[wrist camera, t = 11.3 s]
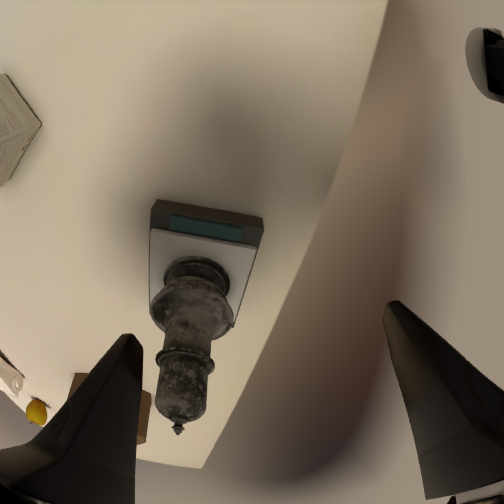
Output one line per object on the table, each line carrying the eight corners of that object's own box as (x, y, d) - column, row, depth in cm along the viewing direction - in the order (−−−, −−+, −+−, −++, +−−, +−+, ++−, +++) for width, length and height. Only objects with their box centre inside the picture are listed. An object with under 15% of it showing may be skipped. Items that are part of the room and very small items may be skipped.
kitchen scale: (156, 198, 19) (148, 212, 18) (262, 217, 21) (265, 232, 19) (152, 302, 25) (148, 318, 24) (233, 315, 27) (233, 332, 25)
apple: (28, 396, 48) (21, 419, 41) (33, 394, 46) (25, 419, 39) (46, 407, 51) (40, 430, 45) (53, 406, 49) (46, 431, 43)
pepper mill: (244, 299, 22) (249, 445, 13) (181, 314, 23) (162, 447, 14) (216, 242, 19) (202, 413, 9) (146, 264, 20) (99, 413, 10)
